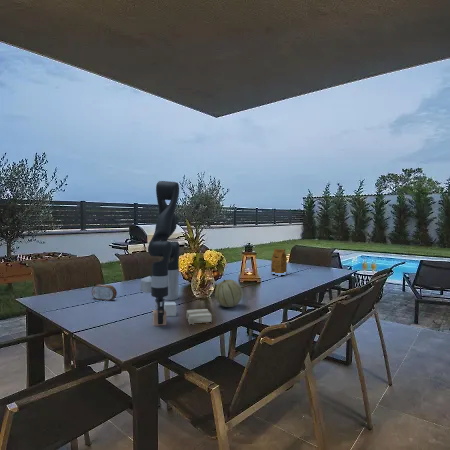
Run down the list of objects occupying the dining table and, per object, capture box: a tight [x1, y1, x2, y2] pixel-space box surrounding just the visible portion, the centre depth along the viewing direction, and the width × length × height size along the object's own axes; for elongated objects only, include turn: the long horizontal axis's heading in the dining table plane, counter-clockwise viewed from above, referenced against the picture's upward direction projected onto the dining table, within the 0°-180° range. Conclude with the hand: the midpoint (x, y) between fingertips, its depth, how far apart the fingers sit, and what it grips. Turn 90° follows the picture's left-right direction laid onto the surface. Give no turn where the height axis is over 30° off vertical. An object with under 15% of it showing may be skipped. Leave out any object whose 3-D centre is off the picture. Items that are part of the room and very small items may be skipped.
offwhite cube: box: [164, 301, 177, 317], centre depth 159 cm, size 6×6×6 cm
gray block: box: [186, 308, 213, 325], centre depth 151 cm, size 10×10×4 cm
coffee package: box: [270, 247, 288, 273], centre depth 267 cm, size 10×12×22 cm
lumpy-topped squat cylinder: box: [140, 275, 152, 294], centre depth 208 cm, size 10×13×9 cm
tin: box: [91, 283, 118, 301], centre depth 184 cm, size 15×3×8 cm, turn 74°
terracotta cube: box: [152, 309, 167, 327], centre depth 146 cm, size 6×6×6 cm
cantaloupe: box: [214, 279, 243, 308], centre depth 174 cm, size 15×15×15 cm
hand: (159, 320), depth 146 cm, fingers open, 8 cm apart
